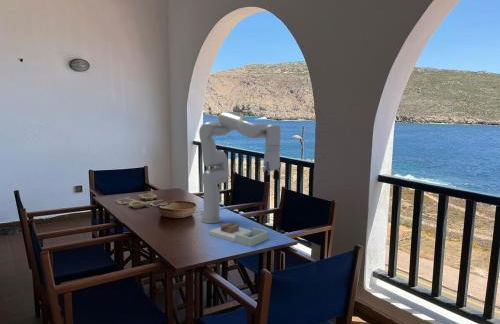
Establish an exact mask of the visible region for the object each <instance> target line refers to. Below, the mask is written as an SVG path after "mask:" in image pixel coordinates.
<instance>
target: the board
mask: <svg viewBox="0 0 500 324" xmlns="http://www.w3.org/2000/svg"><path fill="white" fill-rule="evenodd" d="M235 234H240V235H243V236H247V237H250V236H253V235H252V229H247V228H243V227H240V226H239V230H238V231H236V232H233V233H227V232H224V231H221V226H219V227H216V228H213V229H212V230H211V229H210V230H209V231H208V235H210V236H213V237H216V238H220V239H224V240H226V241H230V242H233V243H236V242H235Z"/></svg>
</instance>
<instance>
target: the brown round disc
mask: <svg viewBox="0 0 500 324" xmlns="http://www.w3.org/2000/svg"><path fill="white" fill-rule="evenodd" d="M220 227H221V231H224V232H227V233H233V232H236V231H238V230H239V227H240V224H236V223H233V222H226V223H224V224H221V225H220Z"/></svg>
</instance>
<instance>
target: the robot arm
mask: <svg viewBox="0 0 500 324" xmlns="http://www.w3.org/2000/svg"><path fill="white" fill-rule="evenodd" d="M233 130H234V131H237V132H238V134H240V135H242V136H245V137H247V138H251V139H265V146H264V147H265V148H264V149H265V151H264V155H263V161H262V162H263V165H262V172H263V182H264V183H270V181H271V174H270V173H271V172H273V177H272V179H273V180H277V181H278V180H280V171H281V165H282V164H281V157H280V155H281V153H280V151H281V126H280V125H279V124H269V123H251V122H249V121H247V118H246V117H245V116H242V115H241V114H240V113H239V112H236V111H223V112H220V113H219V115H218V116H217V121H215V120H212V121H207V122H204V123H202V124H201V125H200V128H199V131H198V133H199V134H198V135H199V139H200V145H201V153H202V162H203V165H204V166H205V167H207V168H209V169H206V170H204V171H203V173H202V175H201V181H202V185H203V211H201V212H200V213H199V215H200V216H201V218H200V221H201V222H202V223H205V224H217V223H221V222H222V221H223V218H222V217H220V203H221V202H220V199H221V197H220V188H219V187H218V185H219V184H225V183H226V182H227V181H228V180H229V176H230V173H229V164H228V163H229V162H228V161H229V160H228V157H227V154H226V153H225V151H223V150H222V149H217V144H216V140H215V139H214V138H213V137H215V136H219V137H220V136H226V135H228V134H229V133H231V132H232V131H233ZM212 167H215V168H212Z"/></svg>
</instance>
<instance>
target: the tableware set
mask: <svg viewBox="0 0 500 324" xmlns="http://www.w3.org/2000/svg"><path fill="white" fill-rule="evenodd" d="M138 196H139V197H141V199H143V200H144V199H145V200H144V201H140V200H136V199H131V197H128V196H126V197H124V198H120V199H116V200H115V202H116V204H118V205H129V206H130V207H133V208H132V209H142V208H143V207H144V206H146V205H148V204H149V205H150V206H151V205H152V206H151V207H159V206H158V205H159V204H158V205H154V204H153V203H154V202H159V201H164V200H163V199H157V200H151V199H155V198H157V196H158V195H157V194H154V192H148V193H142V194H138ZM124 200H132V201H130V202H124V203H121V201H124ZM146 200H151V201H146ZM141 207H142V208H141Z"/></svg>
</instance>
